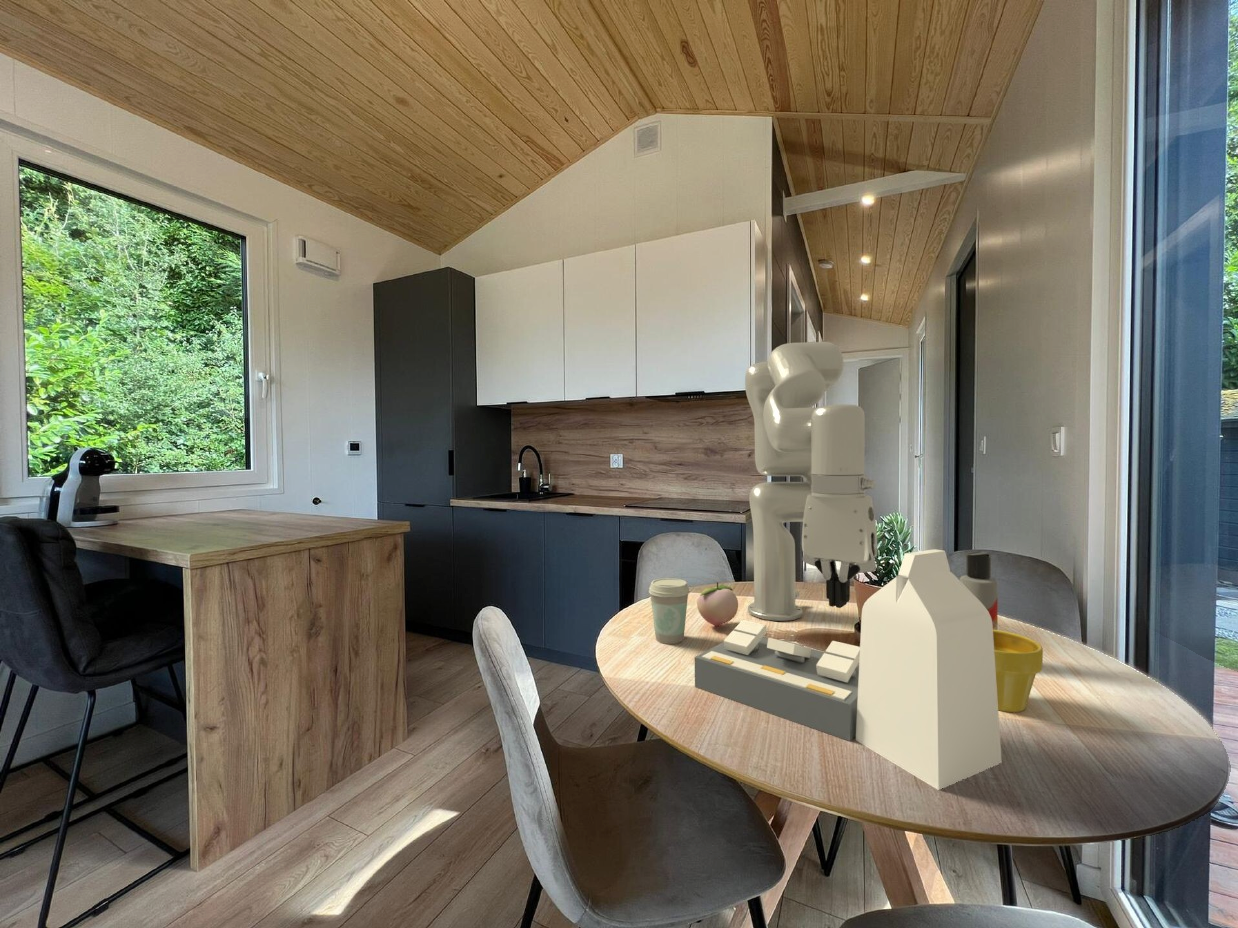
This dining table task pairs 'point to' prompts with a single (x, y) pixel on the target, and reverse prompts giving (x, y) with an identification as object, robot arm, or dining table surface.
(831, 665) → the rocker
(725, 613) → the decorative fruit
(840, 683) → the switch unit
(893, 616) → the milk
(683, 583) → the coffee cup
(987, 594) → the lotion bottle
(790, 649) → the rocker
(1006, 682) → the plant pot
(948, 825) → the dining table surface
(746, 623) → the rocker
